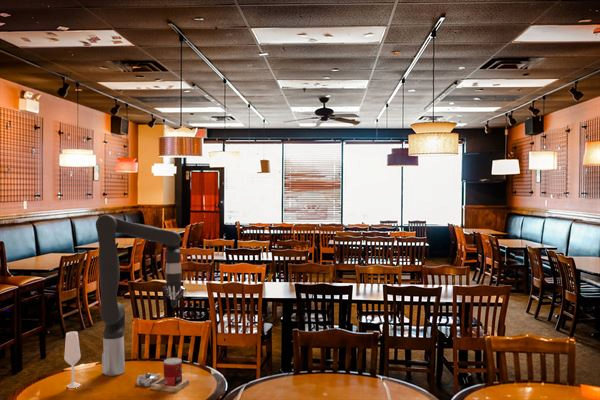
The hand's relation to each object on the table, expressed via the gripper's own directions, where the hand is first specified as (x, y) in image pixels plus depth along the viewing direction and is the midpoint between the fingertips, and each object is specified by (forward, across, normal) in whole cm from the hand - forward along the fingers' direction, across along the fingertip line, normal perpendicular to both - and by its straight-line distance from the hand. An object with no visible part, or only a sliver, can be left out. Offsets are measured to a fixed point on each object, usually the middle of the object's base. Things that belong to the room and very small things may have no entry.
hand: (174, 306), depth 264 cm
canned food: (+29, +14, -22) cm, 39 cm away
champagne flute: (+29, -28, -38) cm, 56 cm away
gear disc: (+29, +1, -24) cm, 37 cm away
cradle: (+29, +13, -24) cm, 40 cm away
